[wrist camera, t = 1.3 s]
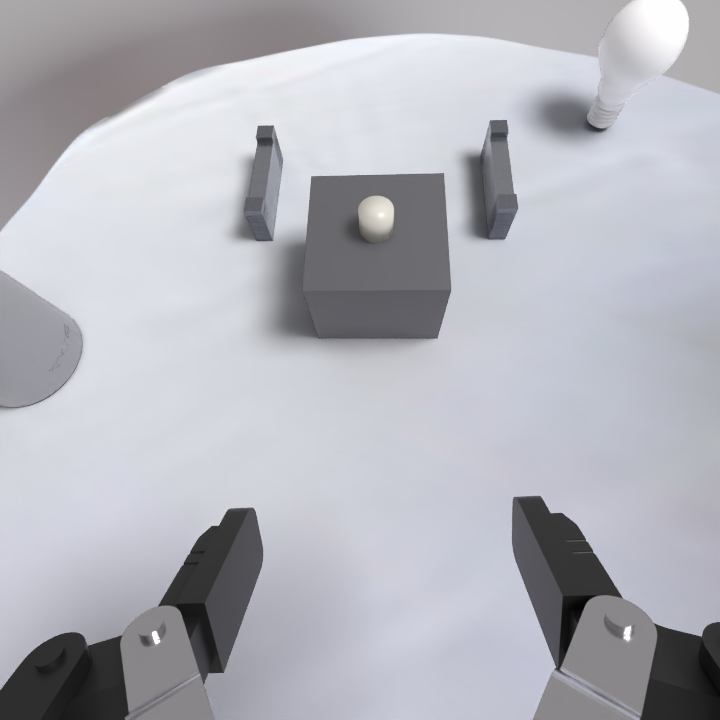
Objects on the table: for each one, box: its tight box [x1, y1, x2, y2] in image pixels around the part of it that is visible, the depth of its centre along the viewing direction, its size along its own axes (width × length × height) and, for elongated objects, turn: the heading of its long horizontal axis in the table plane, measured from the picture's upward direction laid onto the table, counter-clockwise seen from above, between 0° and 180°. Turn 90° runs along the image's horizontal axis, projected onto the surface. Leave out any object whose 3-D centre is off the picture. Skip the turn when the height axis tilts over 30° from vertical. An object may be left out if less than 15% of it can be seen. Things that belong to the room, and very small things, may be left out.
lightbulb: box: [587, 0, 689, 128], centre depth 38 cm, size 6×6×11 cm
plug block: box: [302, 173, 451, 338], centre depth 33 cm, size 10×10×10 cm
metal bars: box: [244, 120, 518, 241], centre depth 39 cm, size 23×10×4 cm, turn 88°
